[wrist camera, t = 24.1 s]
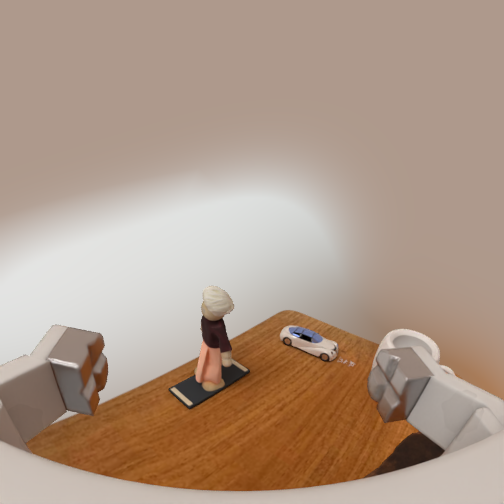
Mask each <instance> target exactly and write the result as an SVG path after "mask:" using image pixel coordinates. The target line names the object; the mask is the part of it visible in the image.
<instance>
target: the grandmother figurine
mask: <svg viewBox="0 0 504 504" xmlns="http://www.w3.org/2000/svg"><path fill="white" fill-rule="evenodd" d="M203 300H204V301H203V303H202V307H201V310H202V314H203V316H202V319H201V330H202V337H203V342H202V346H201V351H200V356H199V361H198V366H197V367H196V368H195V375H196V381H197V382H198V383H202V387H203V388H204V389H205V390H206V391H215V390H217V389H219V388H222V387H223V386H224V385H225V383H224V380H223V379H222V378H221V365H223V366H224V367H229V366H231V365H232V360H231V350H232V347H231V345H230V342H229V340H228V337H227V333H226V328H225V324H224V321H223V317H224V315H225V314H228V313H230V311H232V310H233V309H234V304H233V301H232V299H231V298H230V296H229V295H228V293H227V292H225V291H224V290H222V289H220V288H218V287H216V286H209V287H207V288H205V289H204V290H203Z"/></svg>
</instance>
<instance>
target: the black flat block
mask: <svg viewBox="0 0 504 504" xmlns="http://www.w3.org/2000/svg"><path fill="white" fill-rule="evenodd" d="M231 360H232V365H231V366H229V367H224V366H223V365H221V378H222V379H223V380H224V383H225V385H224V386H223V387H222V388H219V389H217V390H215V391H206V390H205V389H204V388H203V387H202V383H198V382H197V381H196V375H194V376H192V377H190V378H188V379H186V380H184V381H182V382H180V383H179V384H177V385H175V386H173V387H171V388H169V391H170V392H171V393H172V394H173V395H174V396H175V397H176V398H177V399H178V400H180V401H181V402H182V403H183V404H184V405H185V406H186V407H187V408H188V409H191V408H193V407H195V406H196V405H198V404H200V403H202V402H203V401H205V400H207V399H208V398H210V397H212V396H213V395H215V394H216V393H218V392H220V391H221V390H223V389H224V388H226V387H228V386H229V385H231V384H232V383H234V382H236V381H237V380H239V379H240V378H242V377H243V376H245V375H246V374H248V373H249V372H250V370H249V369H247V368H246V367H244V366H243V365H241V364H239V363H238V362H236V361H235V360H233V359H232V358H231Z"/></svg>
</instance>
